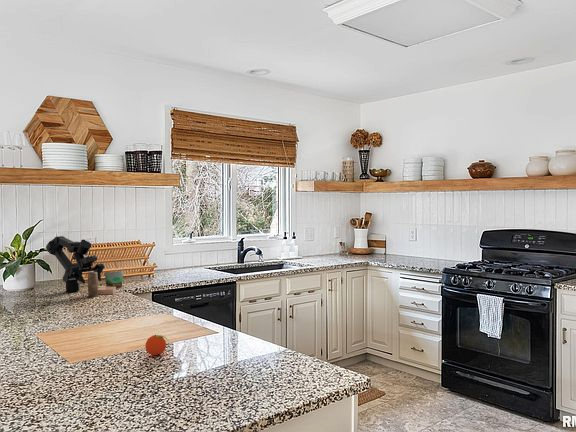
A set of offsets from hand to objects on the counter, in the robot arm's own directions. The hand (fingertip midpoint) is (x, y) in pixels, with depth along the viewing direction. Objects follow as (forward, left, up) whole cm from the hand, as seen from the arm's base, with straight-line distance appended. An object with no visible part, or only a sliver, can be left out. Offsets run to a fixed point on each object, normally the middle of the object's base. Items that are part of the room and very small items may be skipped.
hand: (92, 282), depth 273 cm
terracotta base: (+5, +9, -8) cm, 13 cm away
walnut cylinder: (0, 0, -8) cm, 8 cm away
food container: (+8, +24, -8) cm, 27 cm away
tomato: (+45, -109, -8) cm, 118 cm away
